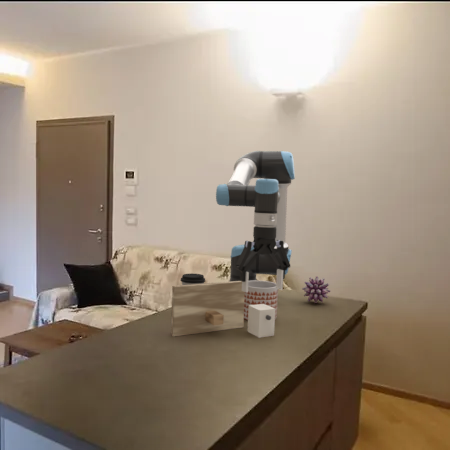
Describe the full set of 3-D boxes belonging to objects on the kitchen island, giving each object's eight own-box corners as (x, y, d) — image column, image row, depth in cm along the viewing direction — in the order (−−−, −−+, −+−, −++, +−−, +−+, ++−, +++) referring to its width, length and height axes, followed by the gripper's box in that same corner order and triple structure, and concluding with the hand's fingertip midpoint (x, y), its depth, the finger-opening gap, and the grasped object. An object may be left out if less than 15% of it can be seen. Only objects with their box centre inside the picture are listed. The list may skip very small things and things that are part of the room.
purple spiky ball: (324, 300, 203) (326, 273, 202) (333, 307, 191) (334, 279, 190) (299, 299, 202) (300, 273, 201) (305, 306, 190) (307, 278, 189)
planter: (237, 320, 166) (239, 286, 166) (242, 311, 180) (244, 279, 179) (275, 323, 164) (276, 288, 163) (277, 314, 178) (279, 281, 177)
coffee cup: (201, 319, 167) (202, 278, 165) (176, 317, 168) (177, 276, 167) (206, 312, 176) (207, 274, 175) (182, 310, 177) (183, 272, 176)
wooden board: (171, 334, 148) (172, 285, 146) (240, 325, 160) (242, 280, 159) (180, 342, 141) (182, 291, 139) (252, 332, 153) (254, 285, 152)
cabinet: (247, 331, 154) (248, 305, 153) (262, 329, 157) (263, 303, 156) (260, 338, 147) (261, 311, 146) (276, 336, 150) (277, 309, 149)
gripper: (238, 227, 140) (235, 295, 142) (302, 227, 152) (299, 289, 154) (226, 225, 147) (223, 290, 148) (289, 225, 159) (286, 285, 160)
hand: (262, 290), depth 151 cm, fingers open, 13 cm apart
